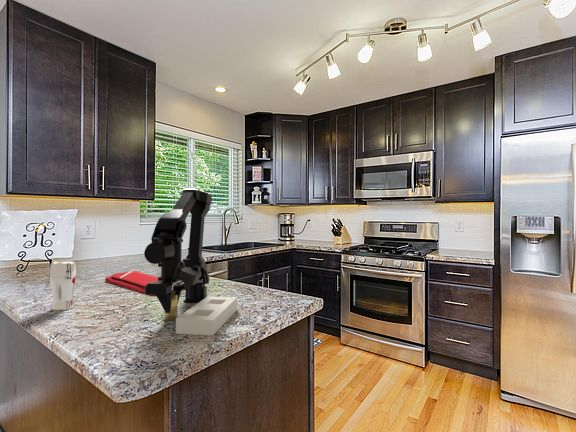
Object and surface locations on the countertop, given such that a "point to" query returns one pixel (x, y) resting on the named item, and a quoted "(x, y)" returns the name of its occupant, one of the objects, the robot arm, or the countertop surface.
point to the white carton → (62, 284)
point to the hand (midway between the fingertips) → (171, 311)
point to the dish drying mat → (132, 280)
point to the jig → (206, 316)
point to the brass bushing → (173, 309)
